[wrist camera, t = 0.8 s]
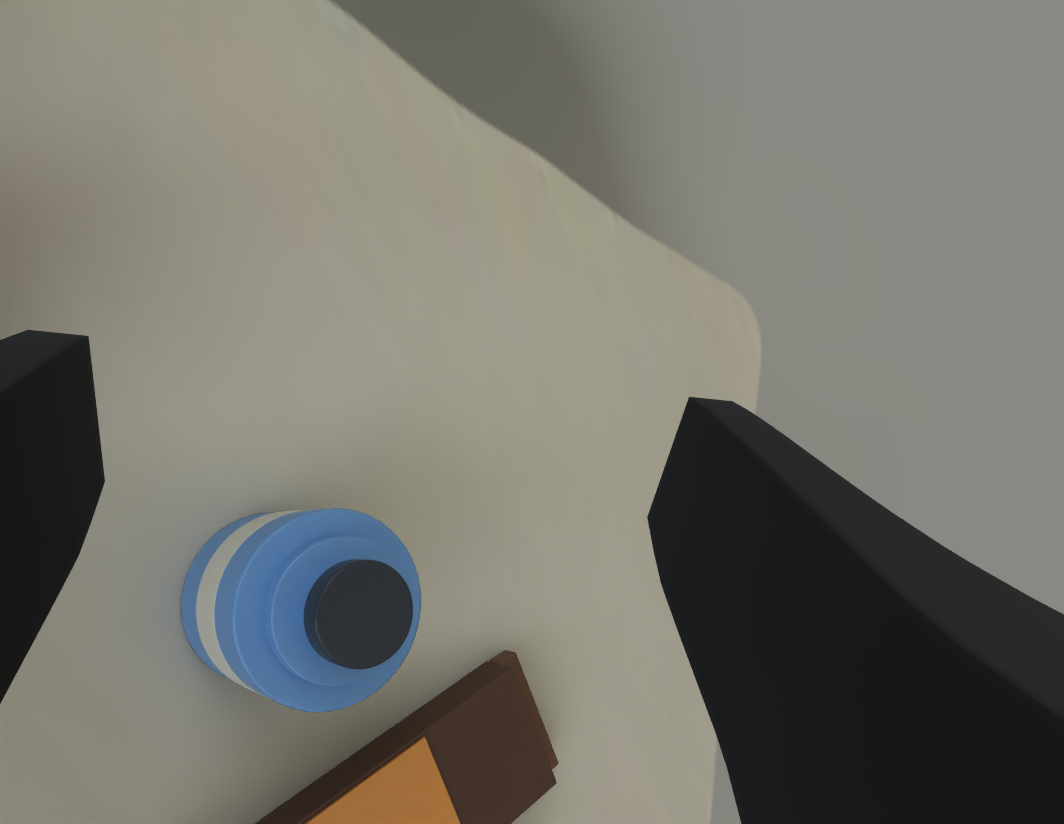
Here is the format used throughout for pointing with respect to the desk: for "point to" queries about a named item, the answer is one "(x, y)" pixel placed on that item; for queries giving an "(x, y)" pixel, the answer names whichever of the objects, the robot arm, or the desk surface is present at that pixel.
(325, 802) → the snack bar
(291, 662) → the bottle
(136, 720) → the desk surface
